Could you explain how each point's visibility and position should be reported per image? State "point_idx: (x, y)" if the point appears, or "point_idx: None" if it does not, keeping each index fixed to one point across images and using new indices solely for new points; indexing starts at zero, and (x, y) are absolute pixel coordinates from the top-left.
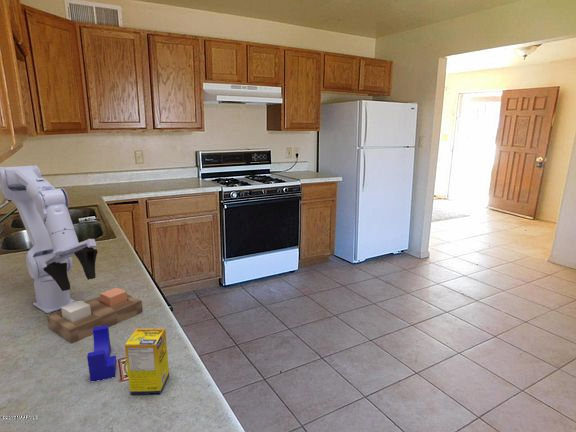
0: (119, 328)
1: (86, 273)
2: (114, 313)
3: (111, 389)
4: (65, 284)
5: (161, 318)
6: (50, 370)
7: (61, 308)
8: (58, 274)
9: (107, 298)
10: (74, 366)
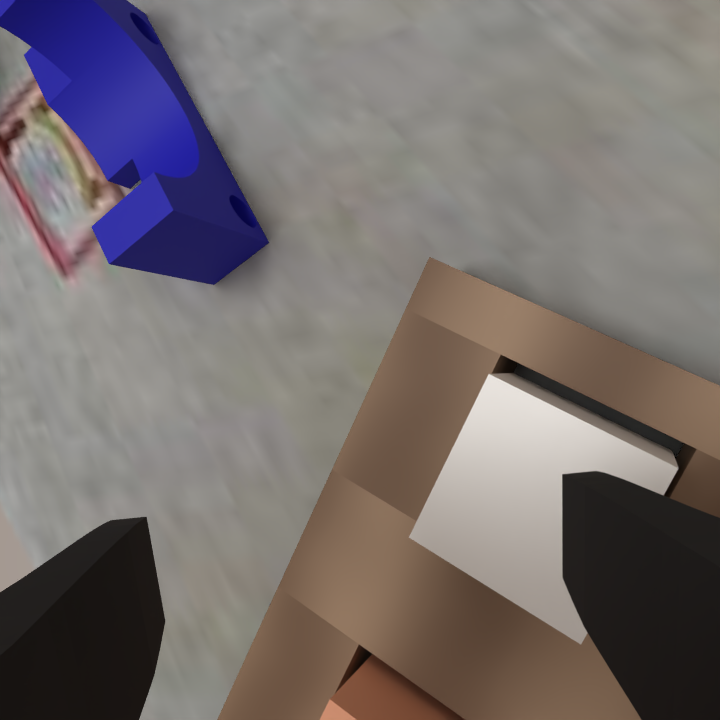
0: (280, 491)
1: (84, 545)
2: (292, 566)
3: None
4: (596, 570)
5: None
6: (381, 8)
7: (671, 462)
8: (714, 632)
9: (369, 715)
10: (285, 82)
